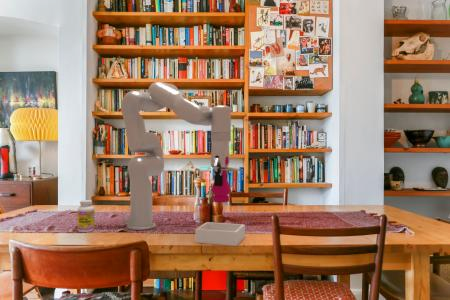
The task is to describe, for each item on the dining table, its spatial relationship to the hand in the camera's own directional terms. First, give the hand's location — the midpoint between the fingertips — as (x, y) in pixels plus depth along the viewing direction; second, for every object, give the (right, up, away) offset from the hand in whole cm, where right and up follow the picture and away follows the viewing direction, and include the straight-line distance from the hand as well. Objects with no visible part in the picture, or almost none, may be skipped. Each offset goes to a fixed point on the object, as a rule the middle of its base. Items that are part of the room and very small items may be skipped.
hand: (221, 184), depth 139 cm
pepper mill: (0, -7, 0) cm, 7 cm away
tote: (0, -21, 0) cm, 21 cm away
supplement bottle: (-57, -21, +14) cm, 63 cm away
